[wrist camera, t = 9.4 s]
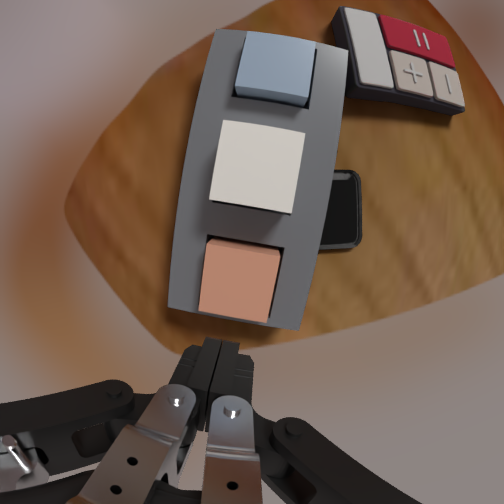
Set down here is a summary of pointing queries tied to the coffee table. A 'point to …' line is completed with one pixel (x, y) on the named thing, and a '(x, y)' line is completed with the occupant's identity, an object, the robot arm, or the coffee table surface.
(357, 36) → the calculator
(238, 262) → the terracotta key
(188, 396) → the robot arm
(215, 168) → the white key
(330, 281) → the coffee table surface
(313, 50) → the slate key
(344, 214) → the phone
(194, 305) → the key panel
